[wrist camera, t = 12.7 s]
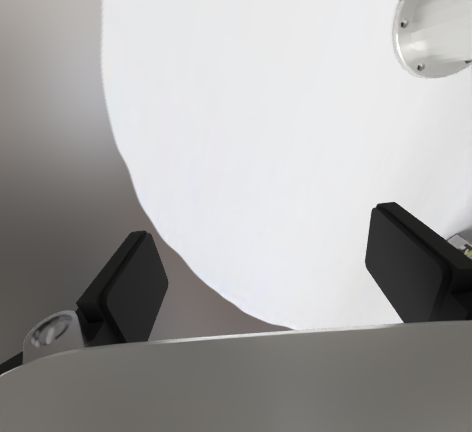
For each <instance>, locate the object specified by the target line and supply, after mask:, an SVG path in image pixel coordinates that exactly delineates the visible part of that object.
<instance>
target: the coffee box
mask: <svg viewBox="0 0 472 432" xmlns="http://www.w3.org/2000/svg"><path fill="white" fill-rule="evenodd" d="M447 241H448V242H449V243H450V244H452V245H453V246H454V247H456V248H457V249H458V250H460V251H461V252H462V253H464V254H465V255H466V256H468V257H469V258H470V259H472V244H470V243H469V242H467V241H466V240H465V239H463V238H462V237H460V236H459V235H455V236H453V237H452V238H450V239H449V240H447Z"/></svg>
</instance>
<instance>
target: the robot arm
mask: <svg viewBox="0 0 472 432" xmlns="http://www.w3.org/2000/svg"><path fill="white" fill-rule="evenodd" d="M401 23H402V27H401ZM393 45H394V50H395V54H396V56H397V59H398V61H399V62H400V64H401V65H402V66H403V68H404V69H406V70H407V71H408V72H409V73H411V74H413V75H415V76H417V77H422V78H440V77H446V76H449V75H452V74H455V73H457V72H459V71H461V70H463V69H465V68H467V67H468V66H470V65H471V64H472V0H401V1H400V3H399V6H398V9H397V12H396V16H395V20H394V26H393ZM417 67H418V69H417ZM365 264H366V268H367V270H368V271H369V273H370V274H371V275H372V277H373V278H374V280H375V281H376V283H377V284H378V286H379V287H380V289H381V290H382V292H383V293H384V294H385V296H386V297H387V299H388V300H389V302H390V303H391V305H392V306H393V308H394V309H395V310H396V312H397V313H398V315H399V316H400V318H401V319H402V321H403V322H404V323H399V324H384V325H369V326H353V327H338V328H323V329H308V330H294V331H280V332H266V333H252V334H238V335H224V336H212V337H198V338H185V339H172V340H159V341H148V338H149V336H150V333H151V330H152V328H153V325H154V322H155V320H156V317H157V314H158V312H159V309H160V307H161V304H162V301H163V298H164V296H165V293H166V291H167V288H168V279H167V276H166V273H165V271H164V268H163V265H162V262H161V259H160V257H159V254H158V251H157V248H156V246H155V243H154V240H153V238H152V235H151V234H150V233H147V232H146V231H136V232H131V233H130V234H129V236H128V237H127V238H126V239H125V241H124V242H123V243H122V245H121V246H120V247H119V248H118V250H117V251H116V252H115V254H114V255H113V256H112V257H111V259H110V260H109V261H108V262H107V264H106V265H105V266H104V268H103V269H102V270H101V272H100V273H99V274H98V275H97V277H96V278H95V279H94V280H93V282H92V283H91V284H90V286H89V287H88V288H87V289H86V291H85V292H84V294H83V295H82V296H81V297H80V298H79V300H78V301H77V302H76V304H77V306H78V307H79V308H78V309H77V311H76V312H73V311H62V312H59V313H56V314H54V315H52V316H49V317H48V318H46V319H45V320H43V321H41V322H40V323H39V324H38V325H36V326H35V327H34V328H33V329H32V330H31V331H30V332H29V334H28V335H27V337H26V338H25V341H24V344H23V351H22V352H21V353H19V354H17V355H16V356H14V357H12V358H11V359H9V360H7V361H6V362H4V363H2V364H1V365H0V432H472V259H470V258H469V257H468V256H466V255H465V254H464V253H462V252H461V251H460V250H458V249H457V248H456V247H454V246H453V245H452V244H450V243H449V242H448V241H446V240H445V239H444V238H442V237H441V236H440V235H438V234H437V233H436V232H434V231H433V230H432V229H430V228H429V227H428V226H426V225H425V224H424V223H422V222H421V221H420V220H418V219H417V218H416V217H414V216H413V215H412V214H410V213H409V212H408V211H406V210H405V209H404V208H402V207H401V206H400V205H398V204H397V203H395V202H390V203H381V204H378V205H377V206H376V208H373V209H372V212H371V220H370V228H369V235H368V243H367V250H366V258H365Z"/></svg>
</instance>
